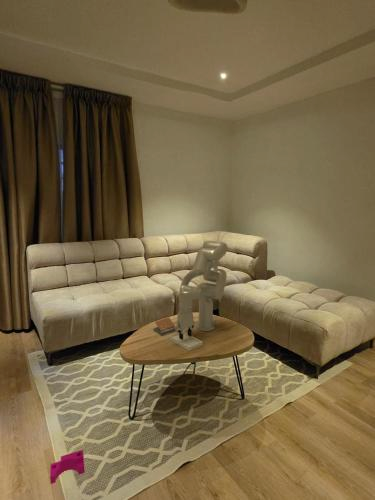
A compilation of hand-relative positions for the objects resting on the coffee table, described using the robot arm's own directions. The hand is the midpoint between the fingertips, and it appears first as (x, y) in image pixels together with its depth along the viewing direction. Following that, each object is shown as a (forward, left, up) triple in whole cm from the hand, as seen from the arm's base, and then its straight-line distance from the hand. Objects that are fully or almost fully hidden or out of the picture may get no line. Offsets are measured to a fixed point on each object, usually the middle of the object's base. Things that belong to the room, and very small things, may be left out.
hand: (185, 337), depth 184 cm
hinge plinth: (+1, -20, -3) cm, 21 cm away
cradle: (0, 0, -3) cm, 3 cm away
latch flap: (+1, -16, -1) cm, 16 cm away
